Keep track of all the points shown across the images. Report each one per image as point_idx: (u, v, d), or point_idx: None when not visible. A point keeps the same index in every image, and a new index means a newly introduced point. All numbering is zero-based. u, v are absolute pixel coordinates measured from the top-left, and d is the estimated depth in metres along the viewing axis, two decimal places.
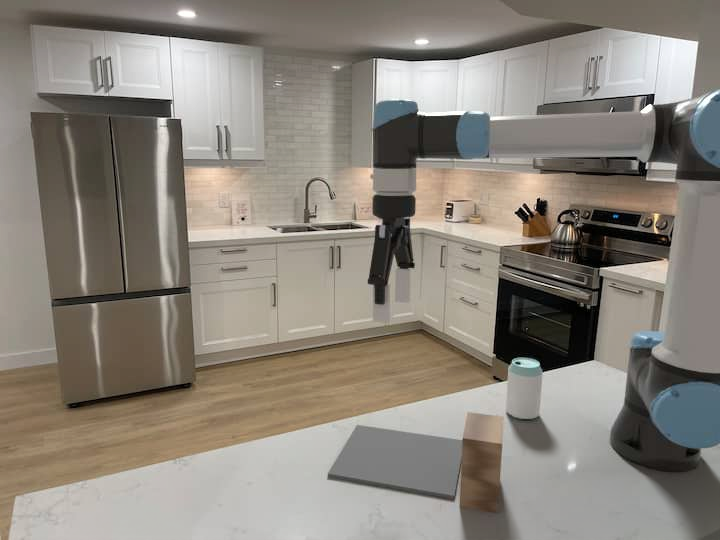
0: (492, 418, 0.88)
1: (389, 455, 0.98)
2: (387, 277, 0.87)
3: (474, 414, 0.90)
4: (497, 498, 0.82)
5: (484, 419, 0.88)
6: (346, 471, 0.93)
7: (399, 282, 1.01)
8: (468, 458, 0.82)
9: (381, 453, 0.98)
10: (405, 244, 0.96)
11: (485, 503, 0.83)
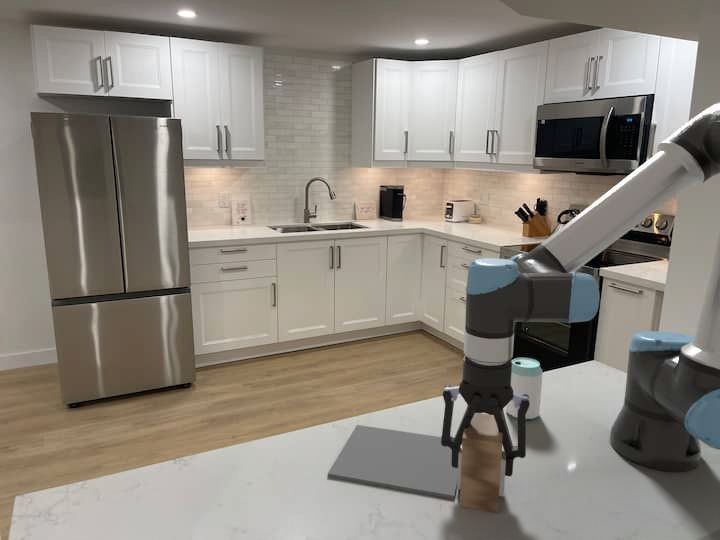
0: (492, 418, 0.88)
1: (389, 455, 0.98)
2: (456, 443, 0.86)
3: (474, 414, 0.90)
4: (497, 498, 0.82)
5: (484, 419, 0.88)
6: (346, 471, 0.93)
7: None
8: (468, 458, 0.82)
9: (381, 453, 0.98)
10: (495, 419, 0.83)
11: (485, 503, 0.83)
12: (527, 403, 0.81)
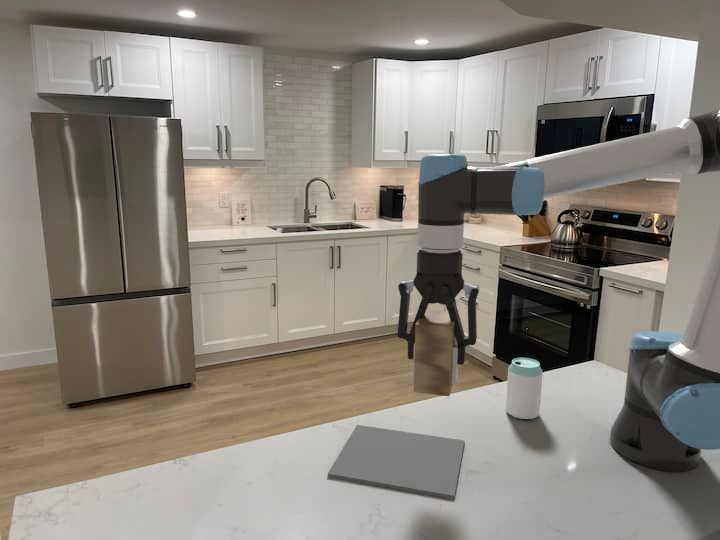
0: (447, 313, 0.93)
1: (389, 455, 0.98)
2: (411, 335, 0.91)
3: (430, 311, 0.94)
4: (448, 382, 0.87)
5: (439, 313, 0.92)
6: (346, 471, 0.93)
7: None
8: (421, 344, 0.87)
9: (381, 453, 0.98)
10: None
11: (437, 387, 0.88)
12: (476, 290, 0.86)
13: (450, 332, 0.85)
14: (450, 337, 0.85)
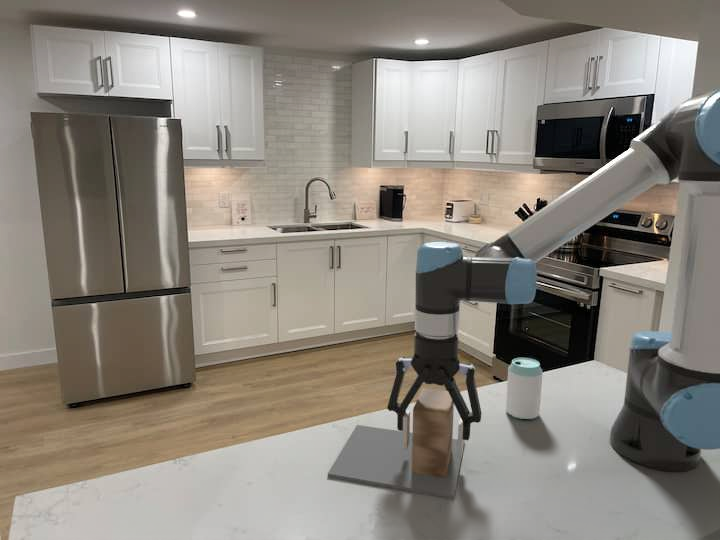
0: (444, 393, 0.96)
1: (389, 455, 0.98)
2: (401, 408, 0.94)
3: (427, 390, 0.97)
4: (445, 464, 0.90)
5: (436, 394, 0.96)
6: (346, 471, 0.93)
7: None
8: (418, 428, 0.90)
9: (381, 453, 0.98)
10: None
11: (434, 469, 0.91)
12: (472, 371, 0.89)
13: (446, 418, 0.88)
14: (446, 423, 0.89)
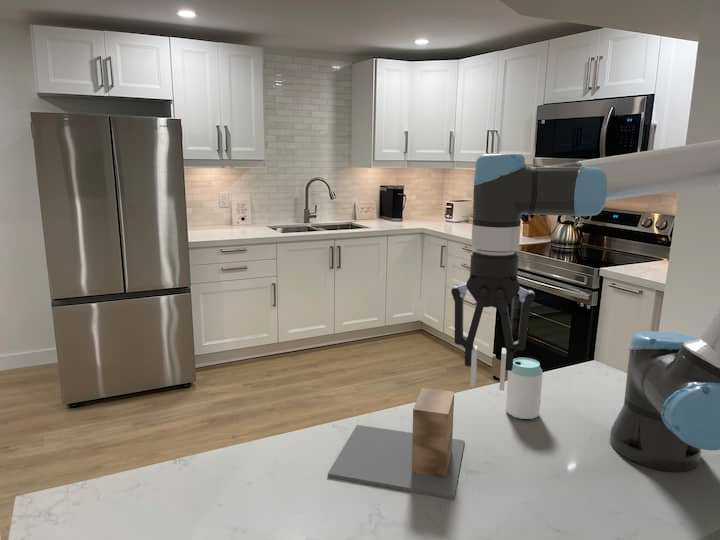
0: (444, 393, 0.96)
1: (389, 455, 0.98)
2: (469, 341, 0.88)
3: (427, 390, 0.97)
4: (445, 464, 0.90)
5: (436, 394, 0.96)
6: (346, 471, 0.93)
7: None
8: (418, 428, 0.90)
9: (381, 453, 0.98)
10: None
11: (434, 469, 0.91)
12: (532, 296, 0.84)
13: (446, 418, 0.88)
14: (446, 423, 0.89)
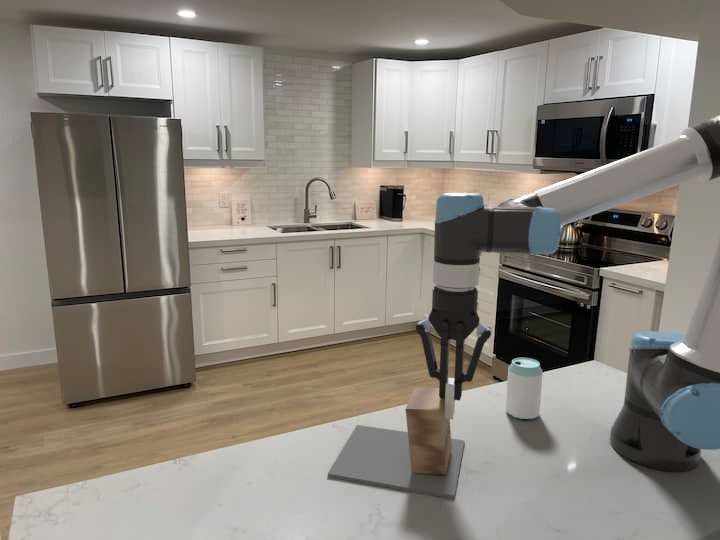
0: (436, 390, 0.96)
1: (389, 455, 0.98)
2: (442, 374, 0.91)
3: (420, 388, 0.98)
4: (443, 461, 0.90)
5: (429, 391, 0.96)
6: (346, 471, 0.93)
7: None
8: (413, 427, 0.90)
9: (381, 453, 0.98)
10: None
11: (433, 467, 0.91)
12: (489, 333, 0.87)
13: (439, 414, 0.89)
14: (440, 419, 0.89)
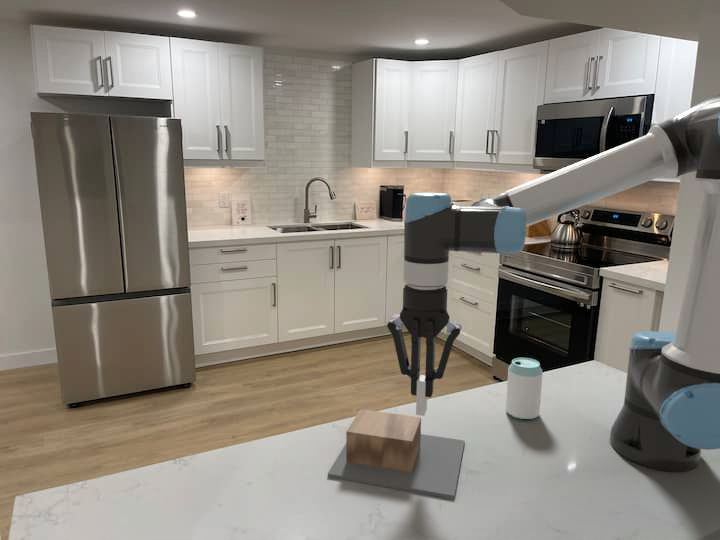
0: None
1: None
2: (413, 371, 0.92)
3: None
4: (397, 440, 0.92)
5: None
6: (346, 471, 0.93)
7: None
8: (364, 459, 0.94)
9: None
10: (426, 341, 0.90)
11: (404, 450, 0.92)
12: (458, 331, 0.88)
13: (350, 433, 0.94)
14: (355, 433, 0.94)
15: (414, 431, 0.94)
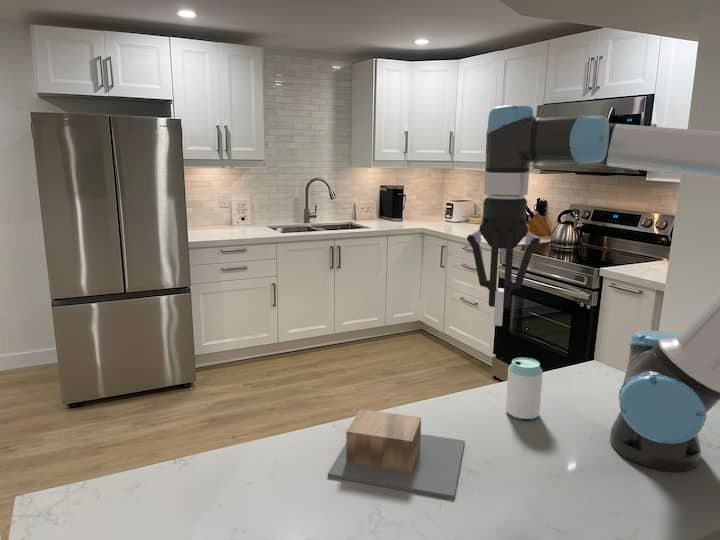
0: None
1: None
2: (492, 283, 0.96)
3: None
4: (397, 440, 0.92)
5: None
6: (346, 471, 0.93)
7: None
8: (364, 459, 0.94)
9: None
10: None
11: (404, 450, 0.92)
12: (538, 240, 0.92)
13: (350, 433, 0.94)
14: (355, 433, 0.94)
15: (414, 431, 0.94)
